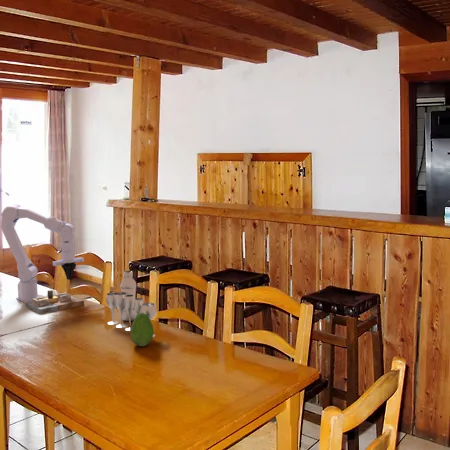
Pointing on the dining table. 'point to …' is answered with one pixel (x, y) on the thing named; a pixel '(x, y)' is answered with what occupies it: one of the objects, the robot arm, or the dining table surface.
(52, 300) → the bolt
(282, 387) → the dining table surface
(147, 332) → the avocado
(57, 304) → the two-tone tabbed panel
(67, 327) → the dining table surface
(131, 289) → the plastic bottle
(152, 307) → the goblet set
